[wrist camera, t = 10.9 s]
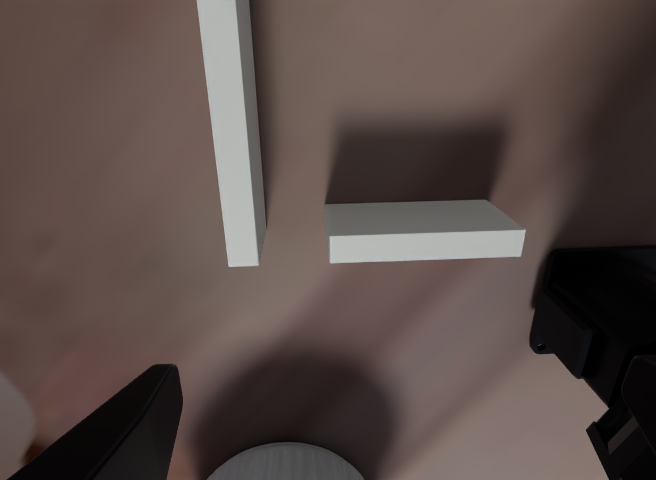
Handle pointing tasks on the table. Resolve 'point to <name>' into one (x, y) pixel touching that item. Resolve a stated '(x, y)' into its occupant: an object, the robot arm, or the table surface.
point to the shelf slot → (340, 219)
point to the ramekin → (286, 464)
